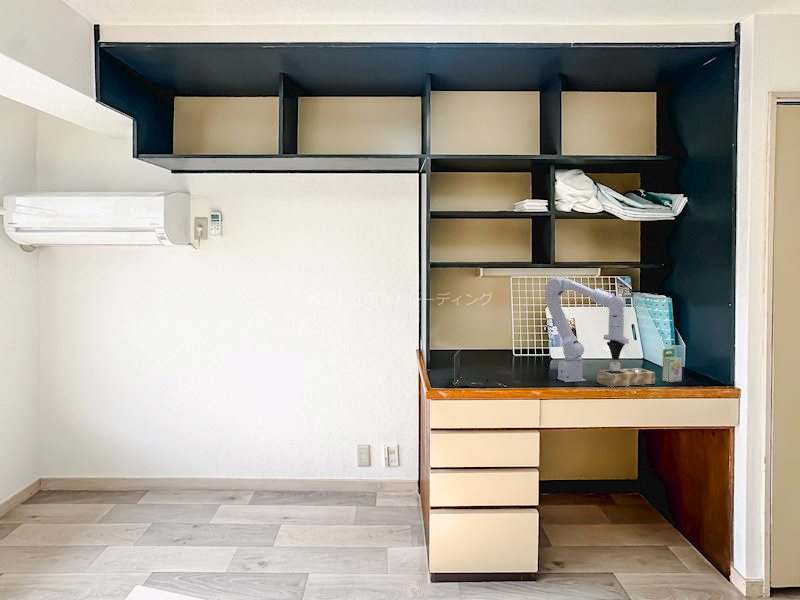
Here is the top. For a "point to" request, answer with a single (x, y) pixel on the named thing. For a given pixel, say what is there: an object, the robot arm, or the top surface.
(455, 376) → the laptop
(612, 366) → the left steel peg
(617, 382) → the maple peg block
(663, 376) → the ink box
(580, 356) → the robot arm
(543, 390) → the top surface
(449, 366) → the top surface
